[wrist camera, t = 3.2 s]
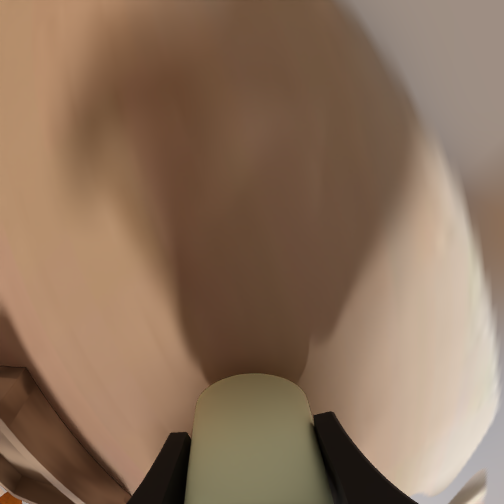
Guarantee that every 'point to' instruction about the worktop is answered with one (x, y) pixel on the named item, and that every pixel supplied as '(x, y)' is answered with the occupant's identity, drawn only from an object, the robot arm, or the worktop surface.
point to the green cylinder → (255, 445)
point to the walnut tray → (45, 451)
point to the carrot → (9, 499)
